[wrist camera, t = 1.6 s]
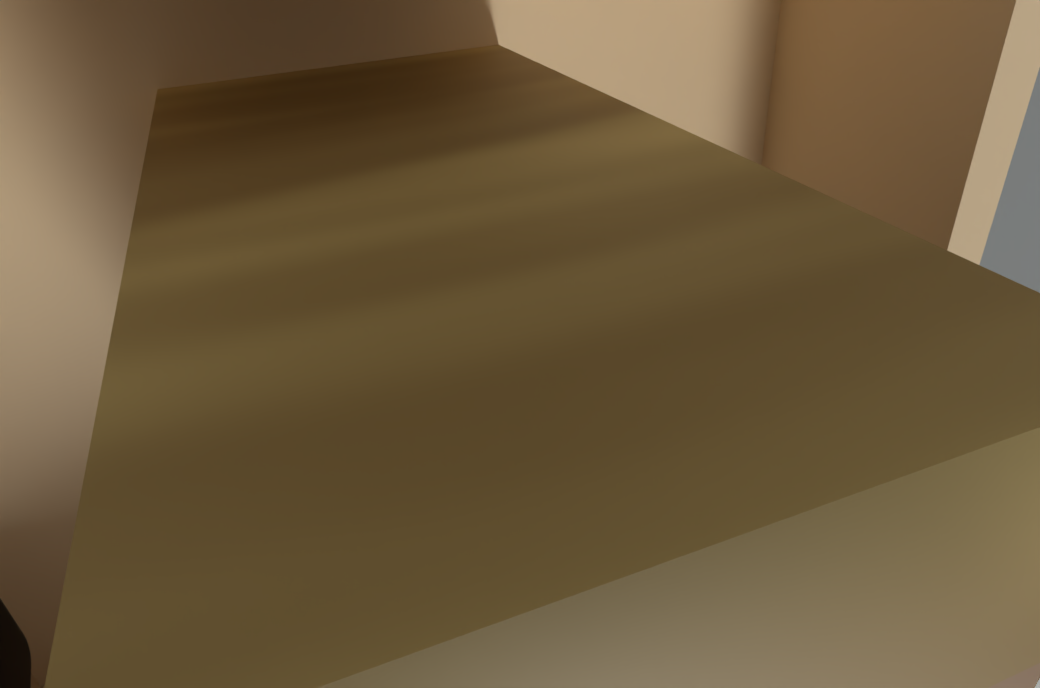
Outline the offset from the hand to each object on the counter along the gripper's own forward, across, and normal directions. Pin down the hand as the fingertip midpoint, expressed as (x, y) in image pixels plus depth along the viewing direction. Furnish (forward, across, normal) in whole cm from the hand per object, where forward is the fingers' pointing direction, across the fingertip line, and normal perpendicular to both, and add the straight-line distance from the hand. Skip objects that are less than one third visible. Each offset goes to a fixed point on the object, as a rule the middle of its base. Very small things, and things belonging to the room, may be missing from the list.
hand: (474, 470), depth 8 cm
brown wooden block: (+5, 0, +1) cm, 5 cm away
